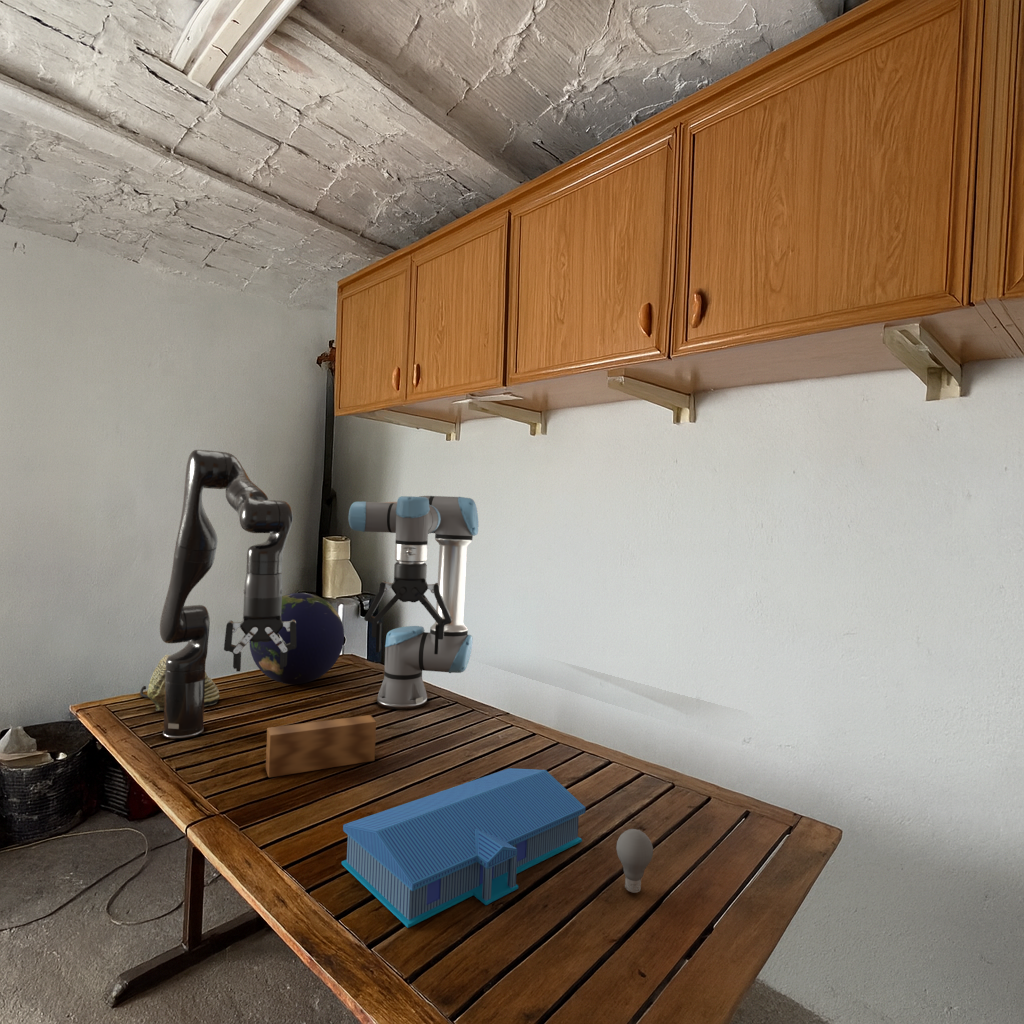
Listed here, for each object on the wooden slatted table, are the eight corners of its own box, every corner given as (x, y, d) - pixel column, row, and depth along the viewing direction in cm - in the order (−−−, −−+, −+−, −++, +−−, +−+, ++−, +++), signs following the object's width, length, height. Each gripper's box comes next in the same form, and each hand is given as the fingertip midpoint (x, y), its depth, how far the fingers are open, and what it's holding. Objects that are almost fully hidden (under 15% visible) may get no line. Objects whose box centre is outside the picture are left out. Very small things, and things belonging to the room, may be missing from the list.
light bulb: (610, 879, 108) (613, 822, 108) (644, 879, 109) (647, 822, 109) (619, 902, 102) (622, 840, 102) (655, 901, 103) (658, 840, 103)
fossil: (144, 707, 182) (145, 655, 182) (212, 696, 194) (213, 647, 194) (151, 716, 175) (153, 662, 175) (221, 703, 188) (223, 653, 188)
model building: (420, 939, 92) (422, 871, 92) (340, 863, 110) (342, 805, 110) (595, 848, 118) (598, 795, 118) (507, 798, 136) (509, 752, 136)
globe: (227, 687, 204) (230, 594, 203) (291, 666, 231) (294, 584, 231) (301, 702, 192) (305, 604, 192) (360, 678, 220) (363, 592, 220)
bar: (268, 777, 142) (270, 735, 141) (265, 768, 146) (267, 727, 146) (374, 760, 153) (376, 721, 153) (368, 753, 157) (370, 714, 157)
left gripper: (298, 591, 140) (295, 663, 141) (228, 591, 136) (225, 666, 136) (298, 596, 133) (295, 673, 134) (224, 596, 128) (221, 676, 129)
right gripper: (353, 561, 144) (350, 654, 145) (463, 565, 145) (459, 657, 146) (360, 558, 152) (357, 646, 152) (464, 562, 153) (460, 649, 153)
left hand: (260, 669), depth 135 cm, fingers open, 8 cm apart
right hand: (407, 652), depth 149 cm, fingers open, 13 cm apart
